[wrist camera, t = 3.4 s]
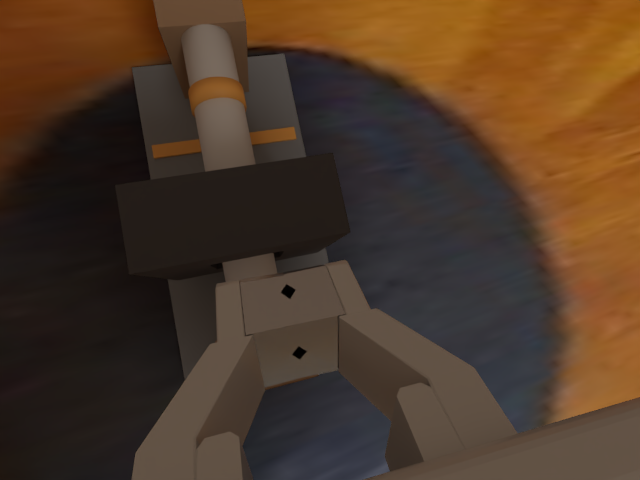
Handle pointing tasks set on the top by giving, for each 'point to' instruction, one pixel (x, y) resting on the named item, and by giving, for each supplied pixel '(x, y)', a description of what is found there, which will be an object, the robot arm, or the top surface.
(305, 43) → the top surface
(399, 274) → the top surface
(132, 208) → the collar
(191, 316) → the pipe rig
